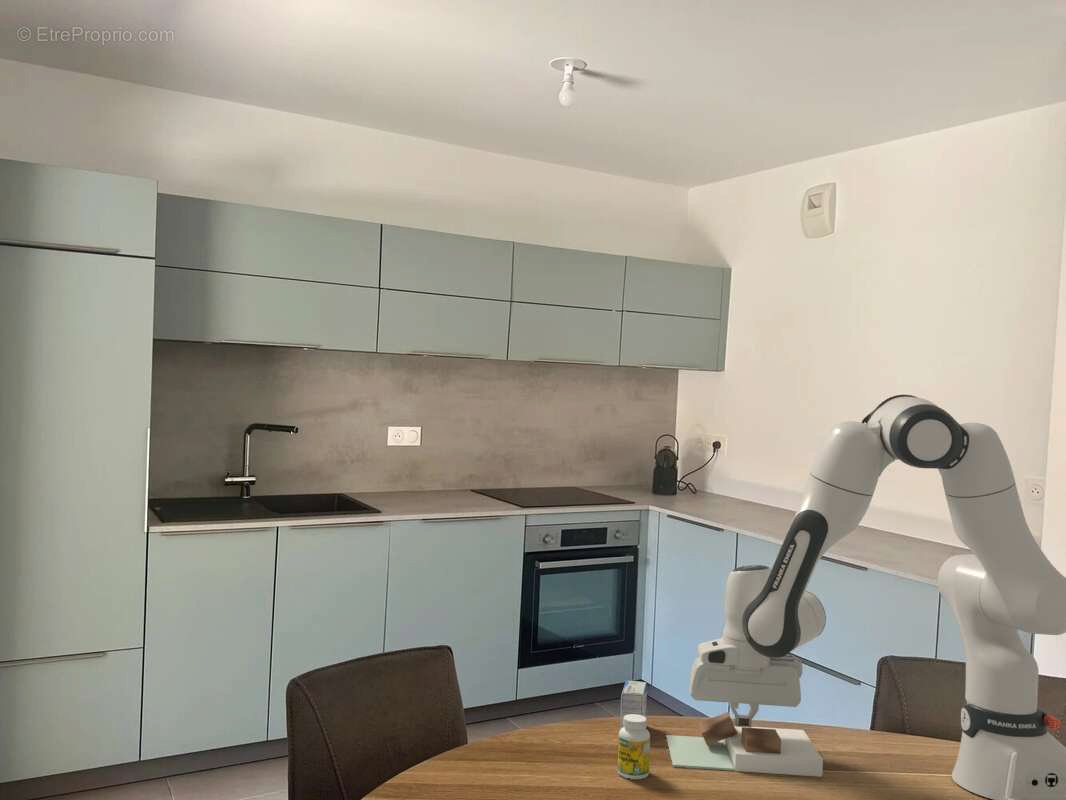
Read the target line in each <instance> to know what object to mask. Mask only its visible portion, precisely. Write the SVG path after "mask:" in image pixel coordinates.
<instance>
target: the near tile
mask: <svg viewBox="0 0 1066 800" xmlns="http://www.w3.org/2000/svg"><path fill="white" fill-rule="evenodd" d="M741 742H742V744H743V746H744V748H745V751H746V752H757V753H772V754H781V739H780V737H779V735H778V733H777V732H776V730H775V729H761V728H745V727H742V734H741Z"/></svg>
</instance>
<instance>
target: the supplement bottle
mask: <svg viewBox="0 0 1066 800" xmlns="http://www.w3.org/2000/svg"><path fill="white" fill-rule="evenodd" d="M647 720H648V719H647V716H646V717H644V716H642V715H637V714H628V715H625V716H624V717H623V725H624V727H623V728H622V729H621V730H619V731H618V751H617V772H618V774H619V775H620V776H621V777H622V778H625V779H628V778H630V779H629V780H642V779H646V778H647V777H648V776H649V773H650V754H651V751H650V749H651V733H650V732H649V730H648V729H646V728H647V726H648V725H647Z"/></svg>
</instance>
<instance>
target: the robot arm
mask: <svg viewBox="0 0 1066 800" xmlns="http://www.w3.org/2000/svg"><path fill="white" fill-rule="evenodd" d="M896 460H897V461H898V460H899V461H901V462H902V463H904V464H905V465H907V466H910V467H912V468H917V469H935V470H936V469H937V470H938V472H939V474H940V476H941V482H942V486H943V491H944V495H945V499H946V502H947V507H948V511H949V514H950V515H949V516H950V519H951V523H952V527H953V531H954V533H955V536H957V538H958V539H959V541H961V543H962V544H963V545H964V546H966V547H967V548H968V549H969V550H970V551H971V552H972V553H966V554H964V553H963V554H955V555H952V556H950V557H948V558H947V559H946V560H945V561H944V562H943V563H942V564H941V567H940V569H939V572H938V575H937V588H938V591H939V595H940V596H941V597H942V598H943V600H944V601H945V602H946V603H947V604H948V607H949V608H950V609H951V612H953V616H954V617H955V619H956V623H957V624H958V625H957V626H958V628H959V629H958V630H959V632H960V634H961V638H962V639H961V640H962V642H963V643H962V644H963V646H964V655H965V693H964V694H965V695H964V696H963V697H962V701H961V703H962V704H961V710H960V711H961V712H960V724H961V725H960V726H961V731H962V733H961V739H960V745H959V750H958V755H957V758H956V761H955V764H954V767H953V770H952V771H951V772H952V773H951V778H952V780H953V782H954V783H956V784H958V785H959V786H960V787H961V788H963V789H964V790H966V791H968V792H971V793H974V794H975V795H978V796H981V797H984V798H987V799H991V800H1066V746H1065V745H1063V744H1062V743H1061V742H1060V741H1059V740H1058V739H1056V737H1054V736H1053V735H1052V734H1050V733H1049V732H1048V728H1047V727H1049V728H1050V729H1051V730H1052V731H1057V730H1059V729H1060V728H1061V725H1062V724H1061V721H1060V719H1059V718H1058V717H1056V716H1054V715H1052V714H1048V713H1046V712H1044V711H1043V710H1041V709H1040V708H1038V699H1039V697H1038V696H1039V695H1038V694H1039V692H1038V691H1039V671H1040V670H1039V664H1038V662H1037V661H1036V659H1035V657H1034V656H1033V654H1032V653H1031V651H1029V650H1028V649H1027V648H1026V646H1025V645H1024V643H1023V641H1022V639H1021V635H1020V633H1019V631H1022V632H1025V633H1028V634H1032V635H1033V634H1034V635H1036V634H1037V635H1046V636H1048V635H1049V636H1059V635H1064V634H1065V633H1066V577H1065V575H1063V574H1062V573H1061V572H1059V570H1058V569H1057V568H1056V567H1055V566H1054V565H1053V564H1052V562H1051V561H1050V560H1049V559H1048V557H1047V556H1046V555H1045V553H1044V551H1043V550H1042V548H1041V547H1040V545H1039V544H1038V543H1037V541H1036V539H1035V538H1034V536H1033V534H1032V532H1031V530H1030V528H1029V525H1028V523H1027V520H1026V516H1025V514H1024V511H1023V506H1022V503H1021V499H1020V495H1019V492H1018V488H1017V483H1016V479H1015V475H1014V472H1013V468H1012V465H1011V462H1010V460H1009V457H1008V455H1007V451H1006V449H1005V447H1004V445H1003V443H1002V441H1001V439H1000V437H999V435H998V433H997V432H996V430H995V429H994V428H993V427H990V425H987V424H984V423H980V422H965V423H964V422H963V423H959V422H958V421H956V419H955V418H954V417H953V416H952V415H951V414H949V412H947V411H946V410H944V409H943V408H941V407H939V406H938V405H936V404H935V403H933V401H930V400H927V399H925V398H921V397H917V396H914V395H911V394H898V395H897V394H896V395H893V396H890V397H887V398H886V399H884V400H883V401H882V402H881V403H879V404H878V405H877V406H876V407H875V408H874V409H873V410H872V411H871V412H870V413H868V414H867V415H866V416H865V417H863V418H862V420H861V422H860V421H852V420H851V421H850V420H849V421H842V422H838V423H837V424H835V425H834V426H833V427H832V428H831V429H830V430H829V432H828V434H827V436H826V437H825V439H824V441H823V443H822V445H821V446H820V448H819V451H818V452H817V455H816V456H815V459H814V461H813V464H812V467H811V469H810V471H809V476H808V477H807V481H806V484H805V487H804V489H803V493H802V495H801V498H800V502H799V504H798V507H797V510H796V511H795V515H794V517H793V519H792V521H791V525H790V527H789V529H788V531H787V532H786V536H785V538H784V540H783V542H782V544H781V547H780V549H779V552H778V554H777V557H776V559H775V561H774V563H773V565H772V568H771V567H769V566H767V565H763V564H762V565H761V564H760V565H759V564H754V565H753V564H752V565H746V566H745V565H744V566H739V567H737V568H734V569H733V570H731V571H730V572H729V574H728V576H727V581H726V586H725V594H724V605H723V612H724V617H725V625H724V628H723V630H722V631H723V632H722V637H720V638H716V639H711V640H708V641H704V642H700V643H699V644H698V646H697V655H698V657H696V658H695V659H694V661H693V663H692V667H691V671H690V676H689V684H688V685H689V686H688V690H689V691H688V692H689V694H690V696H691V698H692V699H693V700H694V701H698V702H699V701H702V702H715V703H728V705H729V707H730V710H731V711H732V714H733V715H734V722H733V724H734V726H736V727H749V728H751V727H753V726H752V725H753V719H754V717H755V716H756V715H757V713H758V711H760V710H759V709H760V707H759V706H771V707H772V706H776V707H789V708H797V707H798V706H799V705H800V704H801V701H802V692H801V691H802V690H801V680H800V678H801V677H802V675H803V667H804V666H803V662H802V661H801V659H799V658H798V657H795V654H794V655H793V654H789V653H791V652H792V651H795V649H797V648H799V647H801V646H803V645H805V644H807V643H809V642H811V641H814V639H816V638H817V637H819V636H820V635H821V634H822V632H823V631H824V629H825V627H826V623H827V621H826V620H827V616H826V611H825V608H824V606H823V603H822V602H821V600H820V599H819V598H818V597H817V596H816V595H815V594H814V593H812V592H810V591H807V588H808V586H809V583H810V580H811V578H812V575H813V574H814V571H815V569H816V567H817V564H818V563H819V561H820V560H821V558H822V557H823V556H824V555H825V554H826V553H827V551H829V549H831V547H833V546H834V545H835V544H837V543H838V542H839V541H841V540H842V539H843V538H844V537H847V536H848V535H849V534H850V533H852V532H854V531H855V530H856V529H857V528H858V526H859V524H860V523H861V521H862V520H863V518H864V516H865V515H866V513H867V512H868V509H869V507H870V504H871V503H872V499H873V496H874V494H875V490H876V488H877V485H878V481H879V479H880V478H879V477H881V476H882V474H883V472H884V470H885V469H886V468H887V467H888V466H890V464H892V463H893V462H896ZM739 704H745V705H748V706H749V707H750V709H749V710H748V711H747V714H739V713H738V710H739V707H740V706H739ZM737 709H738V710H737Z"/></svg>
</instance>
